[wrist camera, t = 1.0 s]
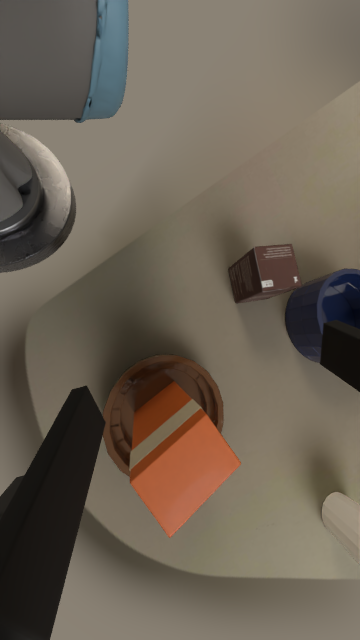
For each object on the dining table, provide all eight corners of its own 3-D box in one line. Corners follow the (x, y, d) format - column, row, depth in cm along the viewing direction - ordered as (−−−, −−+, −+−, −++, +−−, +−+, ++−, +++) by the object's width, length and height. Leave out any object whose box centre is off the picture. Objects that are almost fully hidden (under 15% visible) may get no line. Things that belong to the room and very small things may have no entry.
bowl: (84, 399, 24) (75, 408, 21) (175, 334, 28) (180, 332, 25) (149, 491, 25) (151, 514, 21) (231, 414, 28) (244, 424, 25)
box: (259, 265, 33) (293, 243, 26) (266, 299, 32) (303, 286, 25) (227, 268, 31) (253, 245, 24) (234, 304, 31) (263, 292, 24)
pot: (269, 310, 32) (298, 302, 26) (323, 266, 36) (359, 251, 30) (318, 381, 32) (358, 389, 26) (366, 331, 36) (411, 328, 30)
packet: (133, 412, 25) (127, 482, 12) (173, 380, 26) (206, 412, 14) (153, 441, 25) (169, 540, 12) (193, 407, 26) (242, 463, 14)
